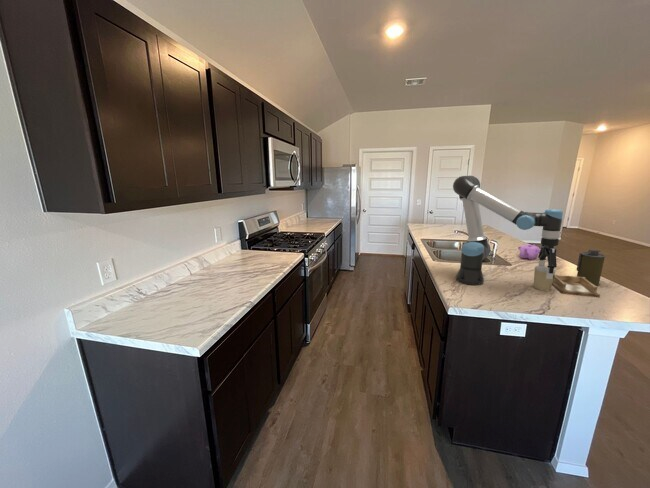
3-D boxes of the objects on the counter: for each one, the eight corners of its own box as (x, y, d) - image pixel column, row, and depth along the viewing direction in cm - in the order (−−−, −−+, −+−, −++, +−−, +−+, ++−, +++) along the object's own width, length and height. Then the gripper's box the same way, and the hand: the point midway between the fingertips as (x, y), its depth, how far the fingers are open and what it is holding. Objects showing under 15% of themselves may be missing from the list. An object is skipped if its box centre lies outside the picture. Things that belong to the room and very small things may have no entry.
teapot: (543, 261, 206) (545, 247, 203) (522, 260, 209) (524, 246, 206) (533, 256, 220) (535, 242, 218) (514, 255, 223) (516, 242, 221)
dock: (561, 293, 150) (562, 284, 148) (549, 282, 166) (550, 274, 165) (599, 297, 144) (601, 288, 143) (583, 285, 160) (584, 277, 159)
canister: (594, 280, 166) (601, 248, 162) (602, 286, 157) (610, 252, 153) (571, 278, 171) (577, 247, 166) (578, 284, 162) (584, 251, 157)
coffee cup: (556, 291, 152) (559, 271, 150) (536, 290, 154) (540, 270, 151) (546, 285, 161) (549, 265, 158) (528, 284, 163) (531, 265, 160)
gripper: (568, 242, 138) (562, 282, 143) (550, 233, 161) (545, 268, 165) (550, 242, 141) (544, 281, 146) (534, 233, 164) (530, 267, 168)
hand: (544, 274), depth 156 cm, fingers open, 13 cm apart
